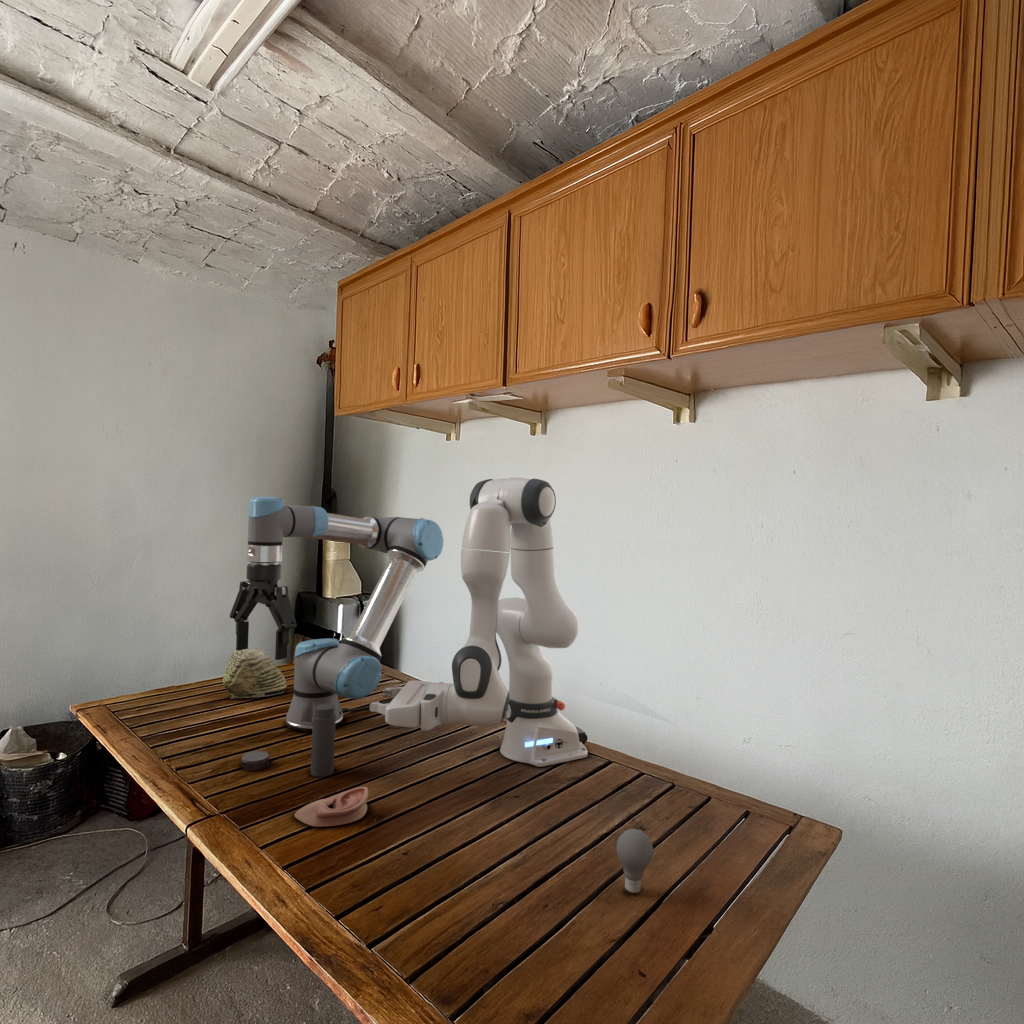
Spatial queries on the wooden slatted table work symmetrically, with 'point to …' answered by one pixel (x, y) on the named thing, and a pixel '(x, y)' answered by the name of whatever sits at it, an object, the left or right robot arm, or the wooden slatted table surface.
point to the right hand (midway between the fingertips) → (377, 699)
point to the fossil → (252, 675)
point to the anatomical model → (335, 809)
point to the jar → (323, 740)
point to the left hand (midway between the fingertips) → (261, 654)
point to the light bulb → (634, 857)
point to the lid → (255, 760)
